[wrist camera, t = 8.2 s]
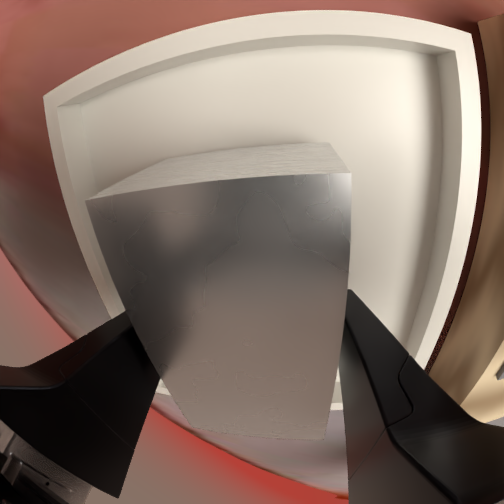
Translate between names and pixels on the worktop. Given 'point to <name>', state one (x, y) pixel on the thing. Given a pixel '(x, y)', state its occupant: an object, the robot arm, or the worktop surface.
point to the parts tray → (300, 138)
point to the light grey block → (236, 281)
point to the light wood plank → (482, 273)
